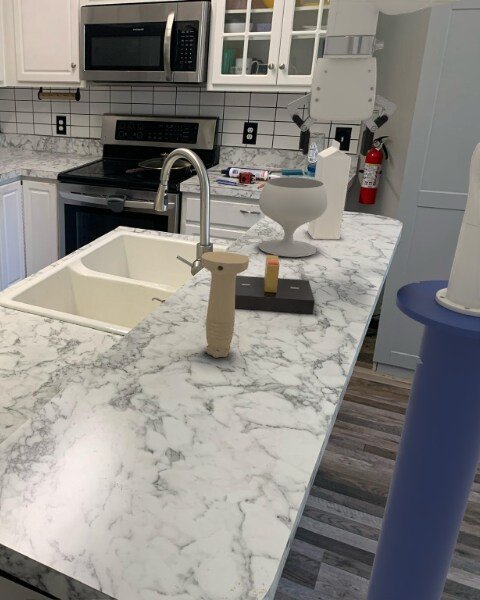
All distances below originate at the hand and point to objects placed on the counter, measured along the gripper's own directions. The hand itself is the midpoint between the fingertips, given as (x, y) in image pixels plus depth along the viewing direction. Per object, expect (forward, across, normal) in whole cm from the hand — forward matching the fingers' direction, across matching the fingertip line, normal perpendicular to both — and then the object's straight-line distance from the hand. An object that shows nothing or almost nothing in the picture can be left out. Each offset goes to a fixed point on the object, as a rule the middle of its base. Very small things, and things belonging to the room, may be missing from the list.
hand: (333, 154), depth 107 cm
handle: (+24, +17, +33) cm, 44 cm away
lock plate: (+24, +9, +10) cm, 28 cm away
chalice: (+24, +4, -21) cm, 33 cm away
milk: (+24, -5, -34) cm, 42 cm away
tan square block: (+22, +9, +10) cm, 26 cm away
